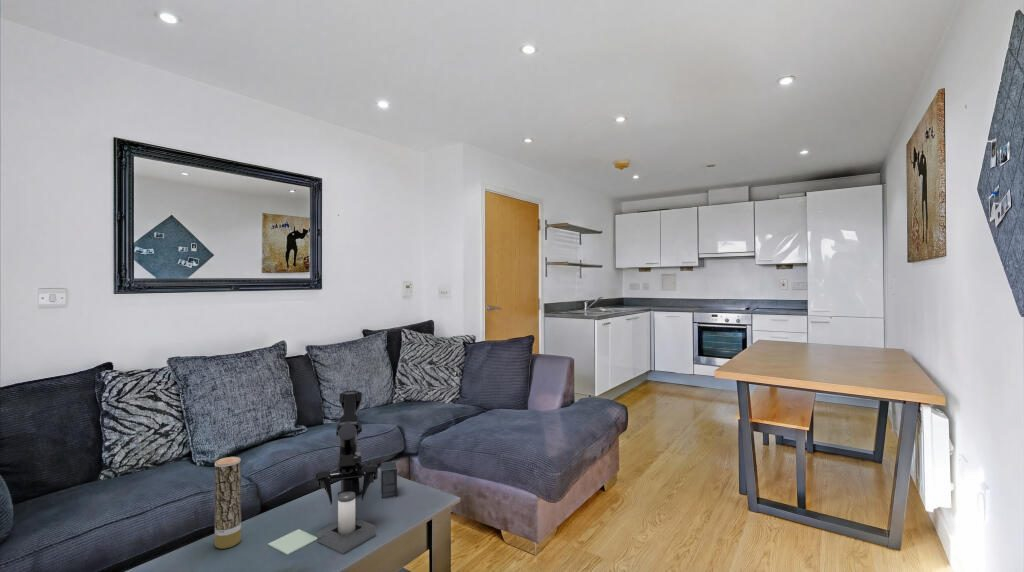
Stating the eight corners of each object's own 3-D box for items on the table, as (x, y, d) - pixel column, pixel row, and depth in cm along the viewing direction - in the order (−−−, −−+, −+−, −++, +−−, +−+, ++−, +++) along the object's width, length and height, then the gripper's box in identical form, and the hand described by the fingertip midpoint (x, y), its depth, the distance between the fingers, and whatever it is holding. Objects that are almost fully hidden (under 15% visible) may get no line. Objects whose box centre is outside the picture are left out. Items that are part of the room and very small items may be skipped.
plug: (334, 540, 143) (334, 496, 143) (348, 532, 148) (348, 490, 148) (345, 544, 141) (345, 500, 141) (358, 537, 145) (358, 493, 145)
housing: (317, 541, 142) (317, 532, 142) (350, 524, 152) (350, 515, 152) (343, 554, 136) (343, 543, 136) (375, 535, 146) (375, 525, 146)
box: (380, 490, 178) (380, 462, 178) (396, 488, 180) (396, 460, 180) (381, 499, 171) (381, 469, 171) (397, 496, 173) (397, 468, 173)
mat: (268, 545, 141) (268, 543, 141) (298, 530, 149) (298, 529, 149) (287, 555, 135) (287, 553, 135) (318, 539, 144) (318, 538, 144)
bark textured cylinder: (228, 551, 138) (228, 465, 138) (209, 548, 139) (208, 464, 139) (246, 538, 144) (246, 457, 144) (227, 536, 146) (227, 455, 146)
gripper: (316, 446, 149) (312, 495, 138) (377, 440, 154) (378, 487, 144) (318, 462, 156) (315, 510, 146) (376, 455, 162) (377, 501, 151)
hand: (347, 502), depth 147 cm, fingers open, 9 cm apart
